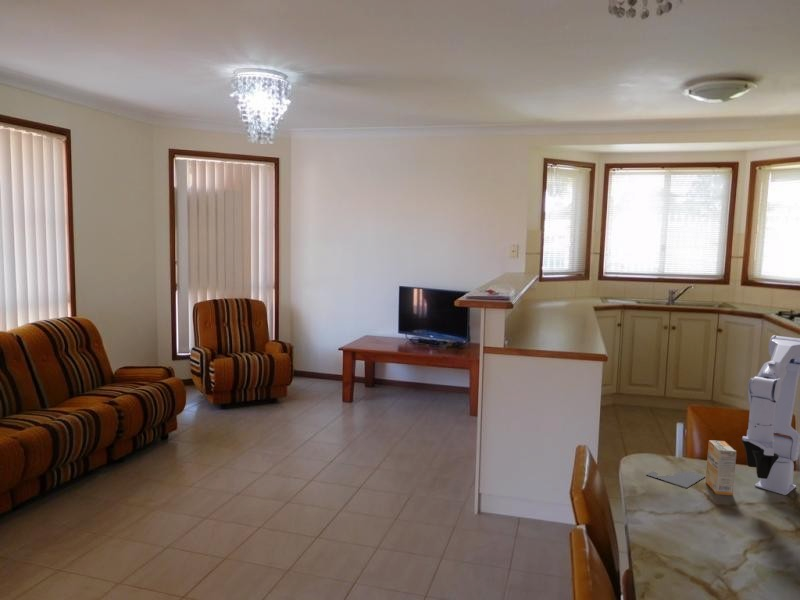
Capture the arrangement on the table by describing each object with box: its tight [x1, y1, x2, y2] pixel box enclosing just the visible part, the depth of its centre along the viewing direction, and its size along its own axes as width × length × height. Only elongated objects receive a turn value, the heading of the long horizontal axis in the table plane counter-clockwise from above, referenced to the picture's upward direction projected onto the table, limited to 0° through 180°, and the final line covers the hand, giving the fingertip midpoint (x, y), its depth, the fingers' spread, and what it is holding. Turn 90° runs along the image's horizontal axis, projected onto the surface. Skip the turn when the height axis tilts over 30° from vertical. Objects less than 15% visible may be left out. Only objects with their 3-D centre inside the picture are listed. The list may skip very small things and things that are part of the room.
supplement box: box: [705, 439, 737, 496], centre depth 169 cm, size 8×5×13 cm, turn 172°
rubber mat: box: [645, 467, 706, 489], centre depth 178 cm, size 13×12×1 cm
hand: (757, 472), depth 156 cm, fingers open, 7 cm apart
